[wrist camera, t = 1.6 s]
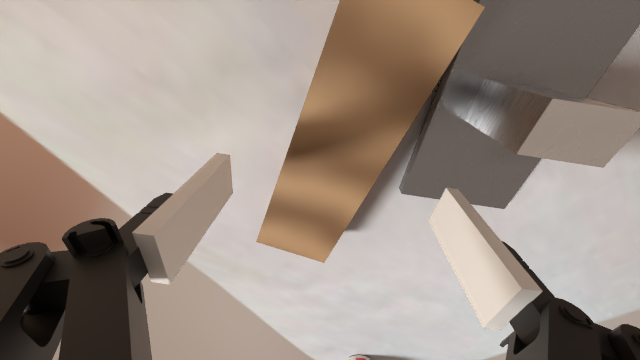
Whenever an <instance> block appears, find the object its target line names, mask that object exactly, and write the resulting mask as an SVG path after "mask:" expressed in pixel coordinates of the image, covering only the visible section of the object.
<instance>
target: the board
mask: <svg viewBox="0 0 640 360" xmlns="http://www.w3.org/2000/svg"><path fill="white" fill-rule="evenodd" d="M484 8H485V7H484V6H482V5H480V4H479V3H477V2H475V1H473V0H340V2H339V5H338V8H337V10H336V13H335V16H334V19H333V22H332V25H331V28H330V31H329V34H328V36H327V39H326V42H325V45H324V48H323V51H322V54H321V57H320V60H319V62H318V65H317V68H316V71H315V74H314V77H313V80H312V83H311V86H310V88H309V91H308V94H307V97H306V100H305V103H304V106H303V109H302V112H301V114H300V117H299V120H298V123H297V126H296V129H295V132H294V135H293V137H292V140H291V143H290V146H289V149H288V152H287V155H286V158H285V161H284V163H283V166H282V169H281V172H280V175H279V178H278V181H277V184H276V187H275V189H274V192H273V195H272V198H271V201H270V204H269V207H268V210H267V213H266V215H265V218H264V221H263V224H262V227H261V230H260V233H259V236H258V239H257V241H256V242H258V243H262V244H265V245H268V246H271V247H275V248H278V249H281V250H284V251H288V252H291V253H294V254H297V255H301V256H304V257H307V258H310V259H314V260H317V261H320V262H323V263H324V262H325V261H326V259H327V257H328V256H329V254H330V253H331V251H332V249H333V248H334V246H335V245H336V243H337V241H338V240H339V238H340V237H341V235H342V234H343V232H344V230H345V229H346V227H347V226H348V224H349V222H350V221H351V219H352V218H353V216H354V215H355V213H356V211H357V210H358V208H359V207H360V205H361V203H362V202H363V200H364V199H365V197H366V195H367V194H368V192H369V191H370V189H371V188H372V186H373V184H374V183H375V181H376V180H377V178H378V176H379V175H380V173H381V172H382V170H383V168H384V167H385V165H386V164H387V162H388V161H389V159H390V157H391V156H392V154H393V153H394V151H395V149H396V148H397V146H398V145H399V143H400V141H401V140H402V138H403V137H404V135H405V134H406V132H407V130H408V129H409V127H410V126H411V124H412V122H413V121H414V119H415V118H416V116H417V114H418V113H419V111H420V110H421V108H422V107H423V105H424V103H425V102H426V100H427V99H428V97H429V95H430V94H431V92H432V91H433V89H434V87H435V86H436V84H437V83H438V81H439V80H440V78H441V76H442V75H443V73H444V72H445V70H446V68H447V67H448V65H449V64H450V62H451V60H452V59H453V57H454V56H455V54H456V53H457V51H458V49H459V48H460V46H461V45H462V43H463V41H464V40H465V38H466V37H467V35H468V33H469V32H470V30H471V29H472V27H473V26H474V24H475V22H476V21H477V19H478V18H479V16H480V14H481V13H482V11H483V10H484Z"/></svg>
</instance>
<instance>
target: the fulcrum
mask: <svg viewBox="0 0 640 360" xmlns="http://www.w3.org/2000/svg"><path fill="white" fill-rule="evenodd" d="M473 1H475V2H477V3H479V4H480V5H482V6H484V7H485V8H484V10H483V11H482V13H481V14H480V16H479V18H478V19H477V21H476V22H475V24H474V26H473V27H472V29H471V30H470V32H469V33H468V35H467V37H466V38H465V40H464V41H463V43H462V45H461V46H460V48H459V49H458V51H457V53H456V54H455V56H454V57H453V59H452V60H451V62H450V64H449V65H448V67H447V68H446V70H445V72H444V74H443V77H442V80H441V82H440V85H439V87H438V90H437V92H436V95H435V97H434V100H433V103H432V105H431V108H430V110H429V113H428V115H427V118H426V120H425V123H424V126H423V128H422V131H421V133H420V136H419V138H418V141H417V144H416V146H415V149H414V151H413V154H412V156H411V159H410V161H409V164H408V167H407V169H406V172H405V174H404V177H403V179H402V182H401V184H400V187H399V189H400V191H401V193H402V194H407V195H414V196H420V197H427V198H434V199H440V198H441V196H442V195H443V193H444V191H445V189H446V188H452V189H458V190H459V191H460V192H461V193H462V194H463V196H464V197H465V198H466V199H467V200H468V202H469V203H470V204H474V205H481V206H488V207H494V208H501V209H505V207H506V206H507V205H508V203H509V202H510V201H511V199H512V198H513V197H514V195H515V194H516V192H517V191H518V190H519V188H520V187H521V186H522V184H523V183H524V182H525V180H526V179H527V177H528V176H529V175H530V173H531V172H532V171H533V169H534V168H535V167H536V165H537V164H538V162H539V161H540V160H541V158H545V159H551V160H558V161H564V162H570V163H577V164H583V165H590V166H596V167H604V166H605V165H606V164H607V163H608V162H609V161H610V160H611V159H612V157H613V156H614V155H615V154H616V153H617V152H618V151H619V150H620V149H621V148H622V147H623V145H624V144H625V143H626V142H627V141H628V140H629V139H630V138H631V137H632V136H633V135H634V134H635V132H636V131H637V130H638V129H639V128H640V111H636V110H632V109H628V108H624V107H620V106H616V105H612V104H608V103H604V102H600V101H596V100H591V99H587V98H586V97H587V96H588V94H589V93H590V92H591V90H592V89H593V87H594V86H595V85H596V83H597V82H598V81H599V79H600V78H601V77H602V75H603V74H604V72H605V71H606V70H607V68H608V67H609V66H610V64H611V63H612V62H613V60H614V59H615V57H616V56H617V55H618V53H619V52H620V51H621V49H622V48H623V47H624V45H625V44H626V42H627V41H628V40H629V38H630V37H631V36H632V34H633V33H634V32H635V30H636V29H637V27H638V26H639V25H640V0H473Z"/></svg>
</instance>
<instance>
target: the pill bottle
mask: <svg viewBox="0 0 640 360" xmlns="http://www.w3.org/2000/svg"><path fill="white" fill-rule="evenodd" d="M347 360H371V359H370V358H368V357H366V356H363V355H355V356H351V357H349V358H348V359H347Z"/></svg>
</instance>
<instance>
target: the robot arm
mask: <svg viewBox="0 0 640 360" xmlns="http://www.w3.org/2000/svg"><path fill="white" fill-rule="evenodd" d="M232 193H233V190H232V176H231V163H230V155H226V154H220V153H217V154H216V155H215V156H213V157H212V158H211V159H210V160H209V161H208V162H207V163H206V164H205V165H204V166H203V167H202V168H201V169H200V170H198V171H197V172H196V173H195V174H194V175H193V176H192V177H191V178H190V179H189V180H188V181H187V182H186V183H185V184H183V185H182V186H181V187H180V188H179V189H178V190H177V191H176V192H175V193H174V194H171V193H165V194H163V195H161V196H159V197H156V198H155V199H153V200H152V201H151V202H150V203H149V204H148V205H146V207H144V208H143V209H142V210H141V211H139V213H137V214H136V215H135V216H134V217H133V218H131V219H130V220H129V221H128V222H127V223H126V224H125V225H123V226H122V227H121V228H120V229H119V230H118V228H117V225H116V223H115V222H114V221H113V220H111V219H105V218H99V219H92V220H89V221H86V222H82V223H80V224H78V225H76V226H74V227H72V228H71V229H70V230H68V231H67V232H66V233H65V234H64V236H63V237H62V240H63V242H64V243H65V245H66V247H67V248H68V250H67V251H57V252H51V251H50V250H49V248H48V247H47V245H46V244H44V243H40V242H35V243H26V244H22V245H18V246H15V247H12V248H10V249H8V250H5V251H3V252H2V253H0V360H52V359H53V356H54V354H55V352H56V349H57V347H58V345H59V343H60V340H61V347H60V353H59V360H152V355H151V347H150V339H149V331H148V324H147V315H146V308H145V300H144V292H143V285H142V283H141V280H142V279H143V278H144V277H145V276H146V274H147V273H148V275H149V277H150V280H151V282H157V283H164V284H171V282H172V281H173V279H174V278H175V276H176V275H177V273H178V272H179V271H180V269H181V268H182V266H183V265H184V263H185V262H186V260H187V259H188V258H189V256H190V255H191V253H192V252H193V250H194V249H195V247H196V246H197V244H198V243H199V241H200V240H201V239H202V237H203V236H204V234H205V233H206V231H207V230H208V228H209V227H210V225H211V224H212V222H213V221H214V220H215V218H216V217H217V215H218V214H219V212H220V211H221V209H222V208H223V206H224V205H225V203H226V202H227V201H228V199H229V198H230V196H231V195H232ZM429 223H430V225H431V227H432V229H433V231H434V233H435V235H436V237H437V239H438V241H439V243H440V245H441V247H442V249H443V251H444V253H445V255H446V257H447V258H448V260H449V262H450V264H451V266H452V268H453V270H454V272H455V274H456V276H457V278H458V280H459V282H460V284H461V286H462V288H463V290H464V291H465V293H466V295H467V297H468V299H469V301H470V303H471V305H472V307H473V309H474V311H475V313H476V315H477V317H478V319H479V321H480V323H481V324H482V326H483V328H489V329H496V330H502V329H503V328H504V327H505V326H506V325H507V324H508V323H509V322H510V324H511V325H512V327H513V329H514V330H515V331H514V332H512V333H511V334H510V335H509V336H508V337H507V338H506V339H504V340H503V341H502V342H501V344H500V346H501V347H504V346H505V345H506V344H508V350H507V356H506V360H640V329H639V328H637V327H634V326H631V325H628V324H622V325H620V326H619V327H617V328H615V329H614V330H611V329H608V328H605V327H603V326H600V325H598V324H595V323H593V321H592V320H591V319H590V318H589V317H588V316H587V315H586V314H585V313H584V312H583V311H582V310H581V309H579V308H578V307H576V306H575V305H573V304H572V303H569V302H567V301H565V300H563V299H559V298H555V297H554V295H553V294H552V293H551V292H550V291H549V290H548V288H547V287H546V286H545V285H544V284H543V283H542V281H541V280H540V279H539V278H538V277H537V276H536V274H535V273H534V272H533V271H532V270H531V269H529V266H528V265H527V264H526V263H525V262H524V261H522V260H523V259H522V258H521V257H520V256H519V255H518V253H517V252H516V251H515V250H514V249H513V248H511V247H510V246H509V245H507V244H506V243H505V242H503V241H501V240H500V239H499V238H498V237H497V235H496V234H495V233H494V232H493V231H492V229H491V228H490V227H489V226H488V225H487V223H486V222H485V221H484V220H483V219H482V217H481V216H480V215H479V214H478V213H477V211H476V210H475V209H474V208H473V206H472V205H471V204H470V203H469V202H468V200H467V199H466V198H465V197H464V196H463V194H462V193H461V192H460V191H459V190H458V189H452V188H446V189H445V191H444V193H443V195H442V196H441V198H440V200H439V202H438V204H437V206H436V208H435V210H434V212H433V214H432V216H431V218H430V220H429ZM61 338H62V339H61Z"/></svg>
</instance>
